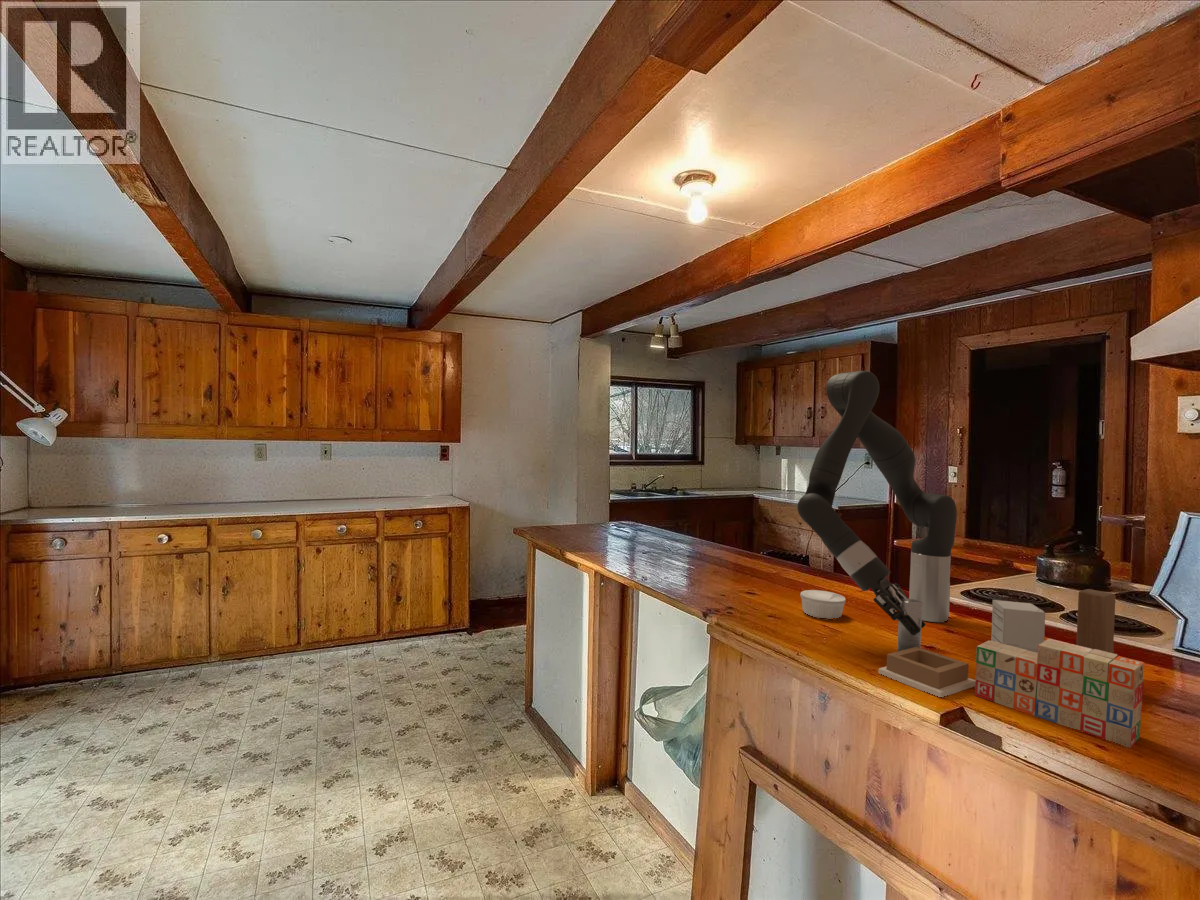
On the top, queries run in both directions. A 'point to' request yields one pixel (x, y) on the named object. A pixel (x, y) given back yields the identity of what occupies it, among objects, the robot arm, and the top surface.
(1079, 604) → the wooden block
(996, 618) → the supplement box
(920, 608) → the axle
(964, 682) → the cradle
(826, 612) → the ramekin
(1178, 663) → the top surface
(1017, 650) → the stack of blocks
